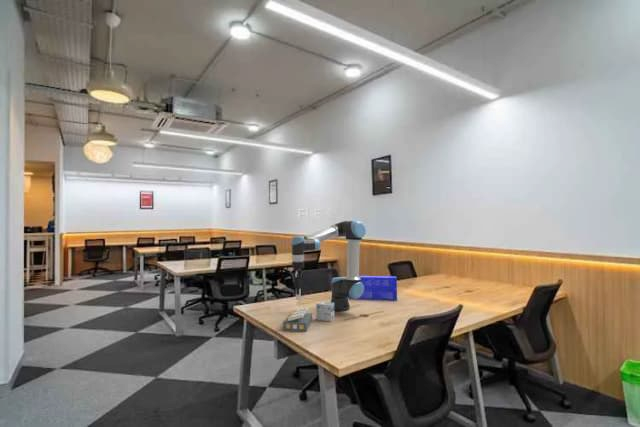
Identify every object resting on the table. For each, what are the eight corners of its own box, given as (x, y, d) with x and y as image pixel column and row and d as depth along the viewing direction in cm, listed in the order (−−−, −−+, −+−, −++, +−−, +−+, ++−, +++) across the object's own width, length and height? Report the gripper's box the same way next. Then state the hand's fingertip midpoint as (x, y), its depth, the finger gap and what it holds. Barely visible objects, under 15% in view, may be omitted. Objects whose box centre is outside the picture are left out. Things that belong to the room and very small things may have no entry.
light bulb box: (334, 318, 218) (334, 302, 218) (331, 321, 211) (331, 304, 211) (319, 317, 221) (319, 301, 221) (316, 320, 215) (316, 303, 215)
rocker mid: (306, 312, 204) (305, 309, 204) (304, 314, 200) (304, 311, 201) (292, 315, 206) (291, 312, 206) (290, 317, 202) (290, 314, 202)
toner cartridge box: (396, 298, 273) (396, 276, 274) (397, 300, 265) (396, 277, 265) (350, 296, 281) (350, 275, 281) (349, 298, 272) (349, 276, 273)
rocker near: (304, 315, 198) (303, 312, 198) (302, 317, 194) (301, 314, 194) (290, 319, 199) (289, 315, 199) (288, 321, 195) (287, 317, 195)
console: (312, 321, 212) (312, 311, 212) (306, 331, 192) (306, 321, 192) (291, 320, 214) (291, 311, 214) (283, 330, 194) (283, 320, 194)
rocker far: (307, 309, 211) (307, 306, 211) (306, 311, 207) (306, 308, 207) (294, 312, 212) (294, 309, 212) (293, 314, 208) (292, 311, 208)
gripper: (294, 259, 211) (294, 296, 210) (289, 262, 198) (289, 301, 197) (305, 260, 210) (306, 297, 209) (301, 262, 197) (302, 302, 196)
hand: (298, 299), depth 203 cm, fingers closed
